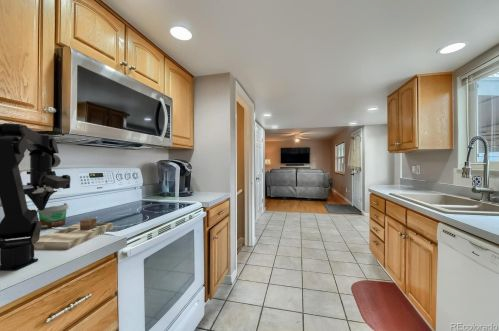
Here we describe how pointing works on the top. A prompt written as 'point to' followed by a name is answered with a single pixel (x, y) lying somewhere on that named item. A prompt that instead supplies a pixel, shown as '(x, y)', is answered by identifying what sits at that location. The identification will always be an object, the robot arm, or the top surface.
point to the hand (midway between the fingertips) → (41, 210)
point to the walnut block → (88, 223)
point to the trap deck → (70, 236)
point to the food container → (53, 216)
